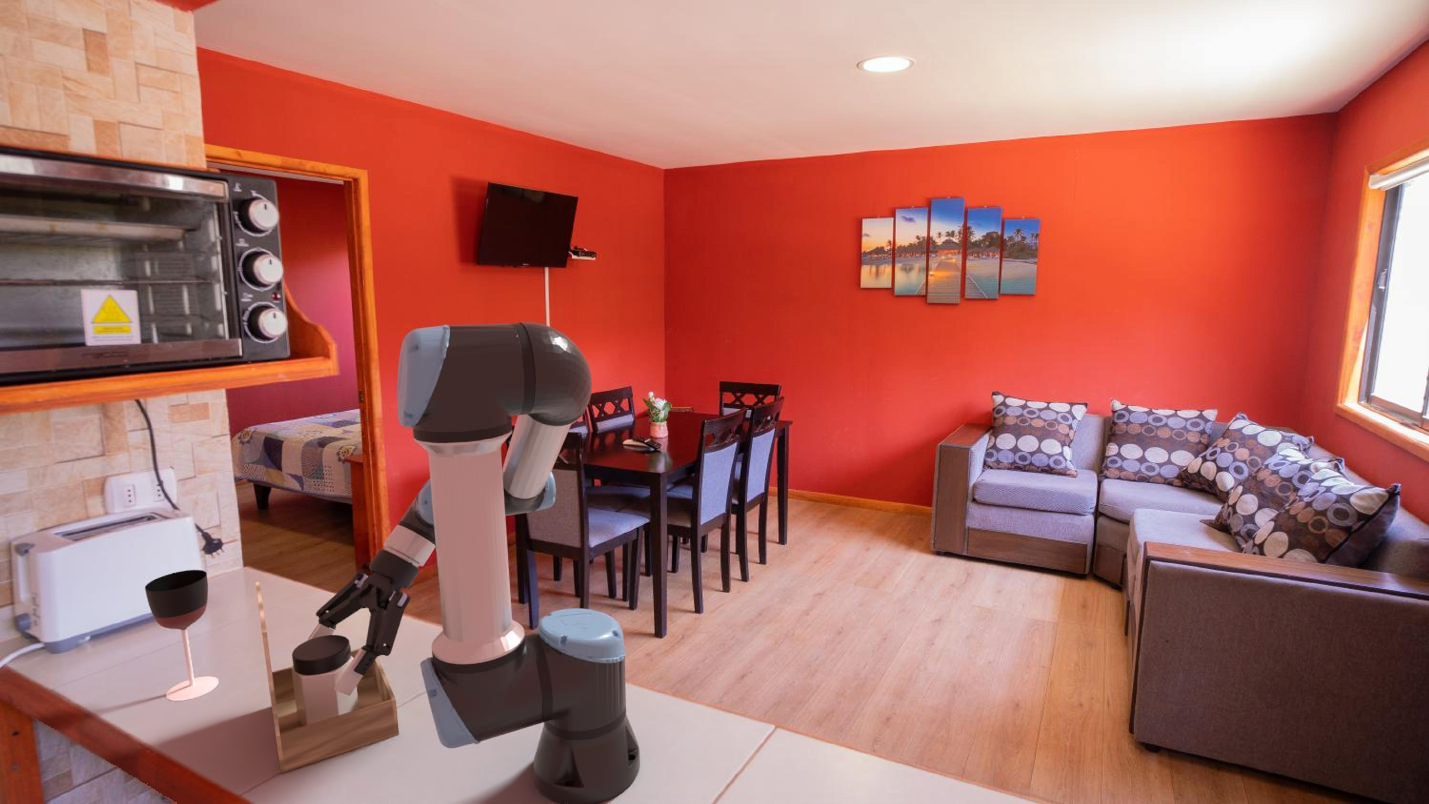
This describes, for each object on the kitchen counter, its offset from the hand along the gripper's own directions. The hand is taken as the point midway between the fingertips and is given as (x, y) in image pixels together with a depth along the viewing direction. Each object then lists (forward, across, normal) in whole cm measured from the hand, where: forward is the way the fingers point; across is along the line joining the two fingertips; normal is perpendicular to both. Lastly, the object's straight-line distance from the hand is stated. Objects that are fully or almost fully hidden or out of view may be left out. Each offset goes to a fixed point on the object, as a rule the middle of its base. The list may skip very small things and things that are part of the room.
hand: (320, 678), depth 116 cm
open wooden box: (+5, 0, -6) cm, 8 cm away
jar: (+5, +1, -6) cm, 8 cm away
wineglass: (+12, +29, +1) cm, 31 cm away
